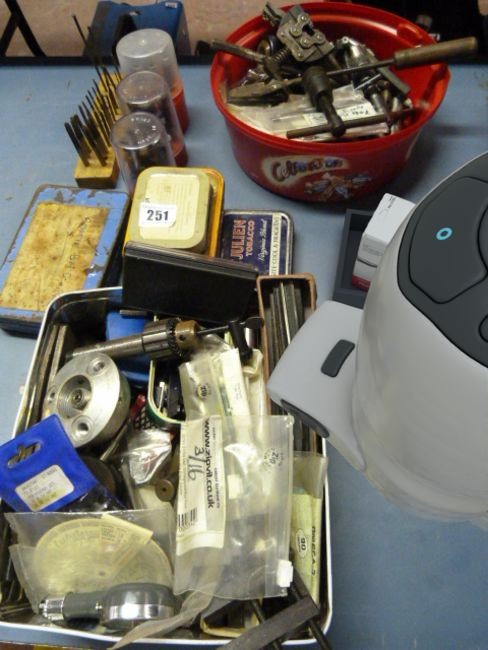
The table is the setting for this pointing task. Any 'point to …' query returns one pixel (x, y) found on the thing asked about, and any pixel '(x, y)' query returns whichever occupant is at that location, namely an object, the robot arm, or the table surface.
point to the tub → (350, 259)
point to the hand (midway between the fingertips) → (406, 471)
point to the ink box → (378, 238)
